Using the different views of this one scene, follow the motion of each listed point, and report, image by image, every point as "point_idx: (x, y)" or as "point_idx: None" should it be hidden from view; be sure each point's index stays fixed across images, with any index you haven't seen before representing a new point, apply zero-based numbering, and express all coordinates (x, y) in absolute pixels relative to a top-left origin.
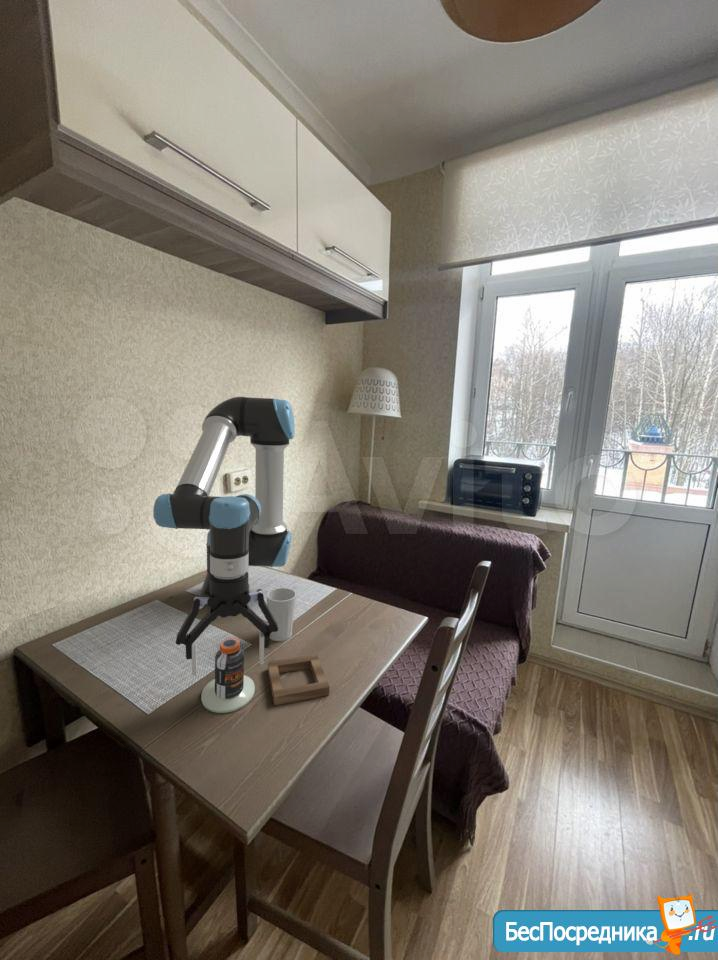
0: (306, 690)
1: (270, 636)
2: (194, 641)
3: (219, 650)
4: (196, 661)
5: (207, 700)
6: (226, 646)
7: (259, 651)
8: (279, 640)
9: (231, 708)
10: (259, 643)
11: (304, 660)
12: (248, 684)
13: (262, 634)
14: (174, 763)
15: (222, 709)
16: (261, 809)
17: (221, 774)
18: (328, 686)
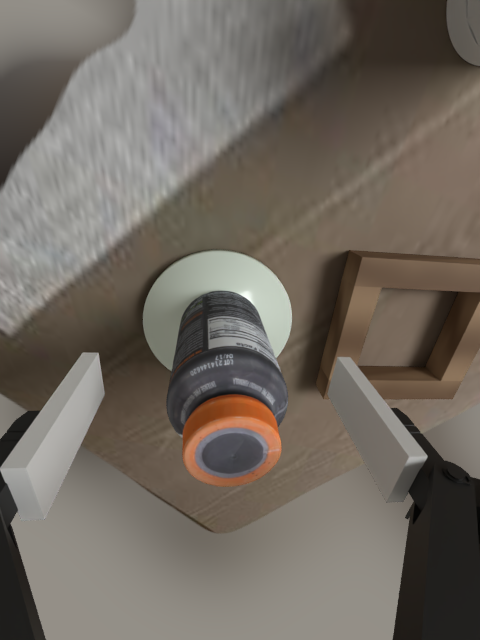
0: (400, 397)
1: (455, 8)
2: (21, 487)
3: (183, 395)
4: (87, 388)
5: (161, 346)
6: (214, 472)
7: (349, 388)
8: (472, 61)
9: None
10: (367, 407)
11: (468, 287)
12: (276, 317)
13: (405, 484)
14: (114, 456)
15: None
16: (243, 523)
17: (195, 483)
18: (451, 397)
